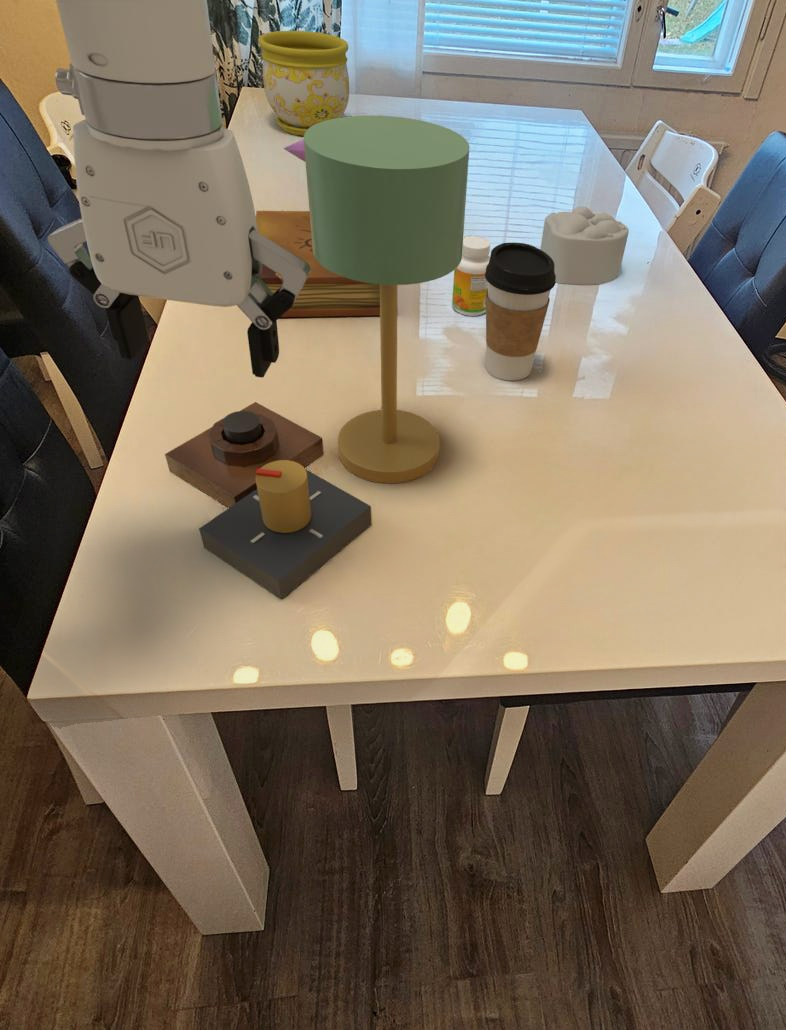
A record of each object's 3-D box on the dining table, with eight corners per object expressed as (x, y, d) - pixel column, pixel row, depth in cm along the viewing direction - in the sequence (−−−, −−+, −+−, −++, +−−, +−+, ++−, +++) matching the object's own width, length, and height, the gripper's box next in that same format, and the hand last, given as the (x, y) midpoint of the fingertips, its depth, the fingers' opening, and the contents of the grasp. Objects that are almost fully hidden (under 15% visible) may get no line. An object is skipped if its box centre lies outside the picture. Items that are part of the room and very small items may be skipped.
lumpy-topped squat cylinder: (535, 255, 117) (542, 202, 111) (609, 256, 120) (620, 204, 114) (548, 284, 110) (557, 229, 104) (627, 285, 112) (640, 231, 106)
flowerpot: (368, 131, 157) (366, 44, 146) (306, 146, 146) (298, 54, 135) (313, 111, 164) (307, 27, 153) (250, 124, 154) (239, 35, 142)
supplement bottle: (446, 300, 103) (450, 235, 97) (481, 297, 105) (487, 232, 98) (458, 318, 100) (463, 251, 93) (493, 315, 102) (501, 249, 95)
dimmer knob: (316, 503, 67) (312, 460, 63) (304, 536, 64) (299, 492, 60) (270, 497, 67) (263, 454, 63) (256, 530, 64) (248, 486, 60)
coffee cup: (517, 345, 96) (531, 236, 85) (553, 377, 91) (573, 265, 81) (464, 359, 92) (473, 247, 82) (499, 392, 87) (513, 278, 77)
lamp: (398, 507, 71) (400, 182, 49) (303, 454, 76) (267, 135, 54) (471, 446, 79) (500, 143, 57) (381, 401, 84) (377, 106, 62)
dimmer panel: (281, 599, 62) (278, 579, 60) (203, 547, 65) (197, 527, 63) (371, 524, 69) (371, 504, 67) (297, 481, 73) (294, 461, 71)
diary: (395, 316, 99) (395, 277, 95) (257, 318, 95) (251, 278, 91) (380, 246, 115) (379, 210, 111) (261, 246, 111) (256, 209, 107)
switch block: (237, 513, 69) (231, 482, 66) (169, 470, 72) (160, 439, 69) (323, 453, 76) (321, 424, 73) (258, 417, 80) (253, 388, 77)
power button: (242, 450, 70) (239, 436, 69) (217, 436, 71) (214, 422, 70) (269, 433, 72) (267, 420, 71) (244, 420, 73) (242, 406, 72)
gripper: (-35, 98, 38) (59, 369, 50) (281, 143, 39) (301, 402, 50) (39, 68, 44) (108, 319, 55) (315, 108, 44) (326, 349, 56)
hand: (200, 358), depth 53 cm, fingers open, 9 cm apart
